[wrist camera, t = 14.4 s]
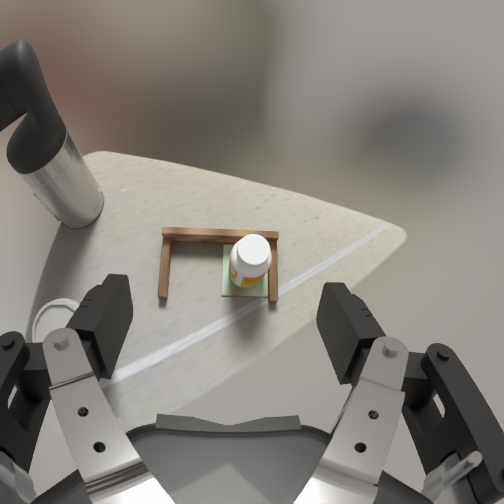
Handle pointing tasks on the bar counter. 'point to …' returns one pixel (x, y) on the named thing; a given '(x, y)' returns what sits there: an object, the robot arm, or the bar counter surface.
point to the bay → (223, 236)
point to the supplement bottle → (249, 261)
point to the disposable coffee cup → (52, 317)
